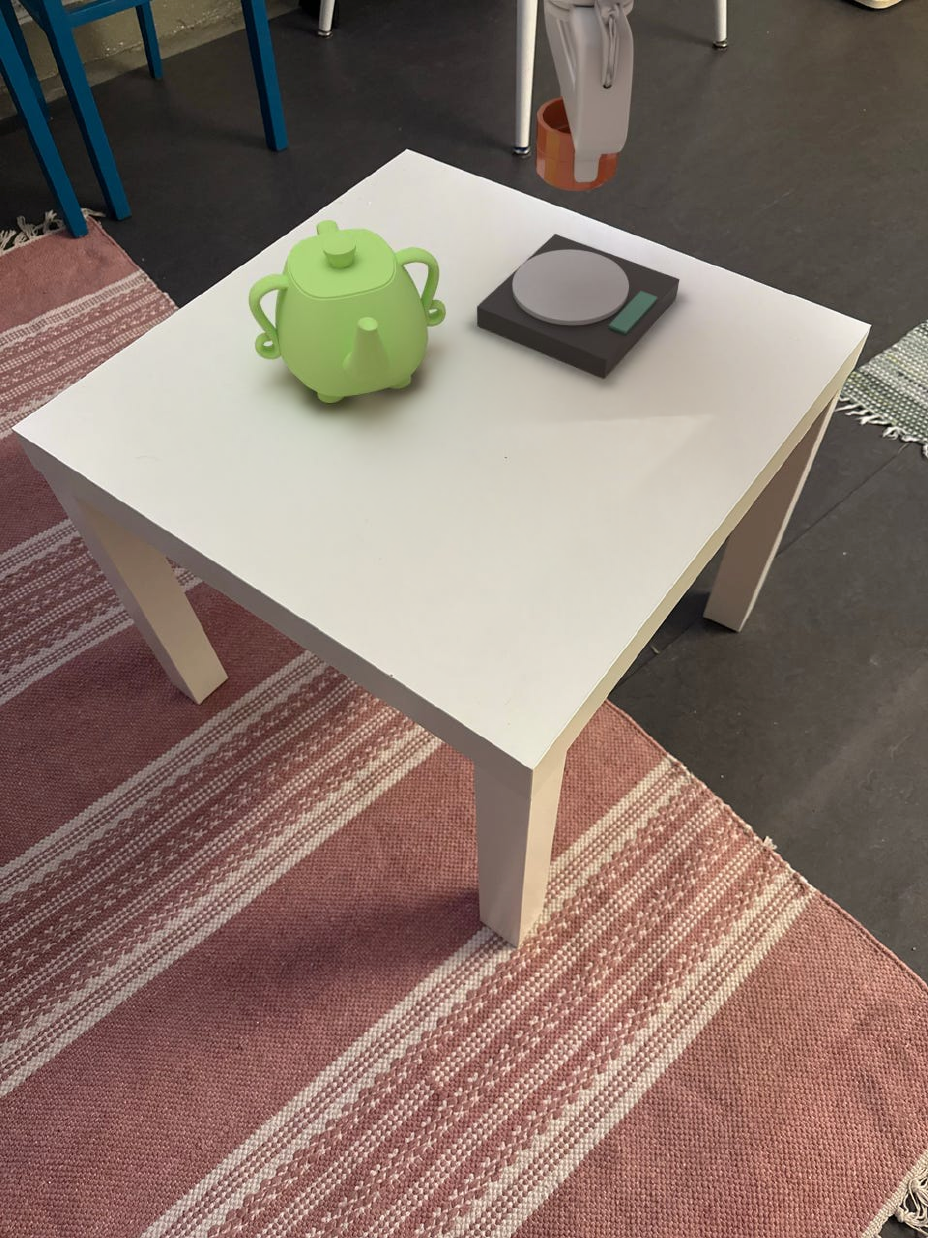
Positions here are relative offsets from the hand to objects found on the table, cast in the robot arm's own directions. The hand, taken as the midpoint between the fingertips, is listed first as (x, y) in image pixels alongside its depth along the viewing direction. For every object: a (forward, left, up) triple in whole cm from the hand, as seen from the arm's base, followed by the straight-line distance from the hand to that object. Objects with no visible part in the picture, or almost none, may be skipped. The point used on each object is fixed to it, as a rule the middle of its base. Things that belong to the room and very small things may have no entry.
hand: (577, 149), depth 75 cm
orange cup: (0, 0, -2) cm, 2 cm away
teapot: (+20, +6, -17) cm, 26 cm away
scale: (-1, -1, -16) cm, 16 cm away
